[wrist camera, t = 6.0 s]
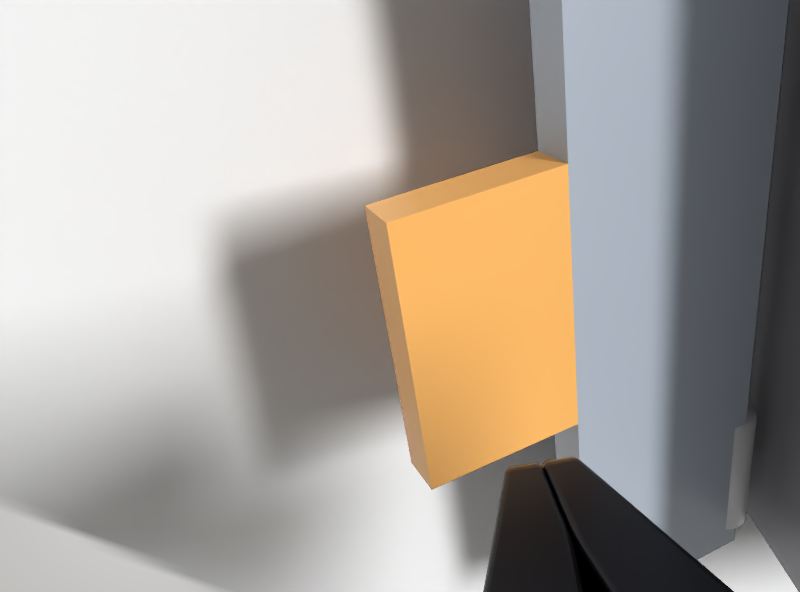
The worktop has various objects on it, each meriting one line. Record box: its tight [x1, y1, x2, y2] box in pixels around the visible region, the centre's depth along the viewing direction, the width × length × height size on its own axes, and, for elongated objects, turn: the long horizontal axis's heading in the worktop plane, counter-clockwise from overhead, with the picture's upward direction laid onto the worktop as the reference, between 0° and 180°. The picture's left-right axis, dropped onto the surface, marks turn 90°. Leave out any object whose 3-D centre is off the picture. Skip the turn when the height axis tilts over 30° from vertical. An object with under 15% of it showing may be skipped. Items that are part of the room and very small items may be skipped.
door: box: [364, 0, 789, 560], centre depth 13 cm, size 16×1×8 cm
